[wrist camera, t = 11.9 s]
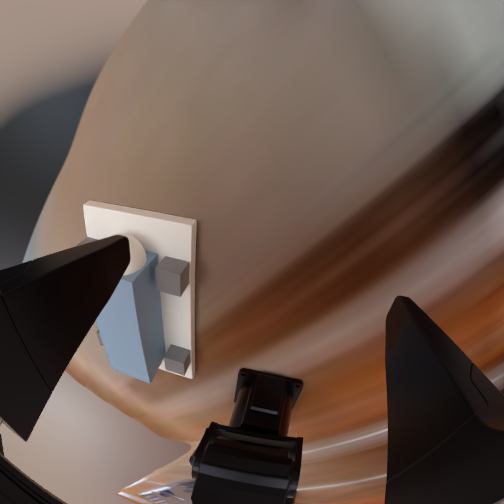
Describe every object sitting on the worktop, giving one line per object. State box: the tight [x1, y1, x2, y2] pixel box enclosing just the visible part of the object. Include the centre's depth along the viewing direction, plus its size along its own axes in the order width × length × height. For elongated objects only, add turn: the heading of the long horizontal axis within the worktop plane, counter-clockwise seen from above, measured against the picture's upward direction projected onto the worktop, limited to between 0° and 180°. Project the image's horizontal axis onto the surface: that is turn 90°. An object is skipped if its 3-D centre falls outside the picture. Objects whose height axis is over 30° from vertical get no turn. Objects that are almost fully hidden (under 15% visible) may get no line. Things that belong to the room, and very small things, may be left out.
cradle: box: [77, 200, 197, 379], centre depth 25 cm, size 18×10×3 cm, turn 173°
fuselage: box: [96, 233, 166, 383], centre depth 23 cm, size 14×4×4 cm, turn 173°
